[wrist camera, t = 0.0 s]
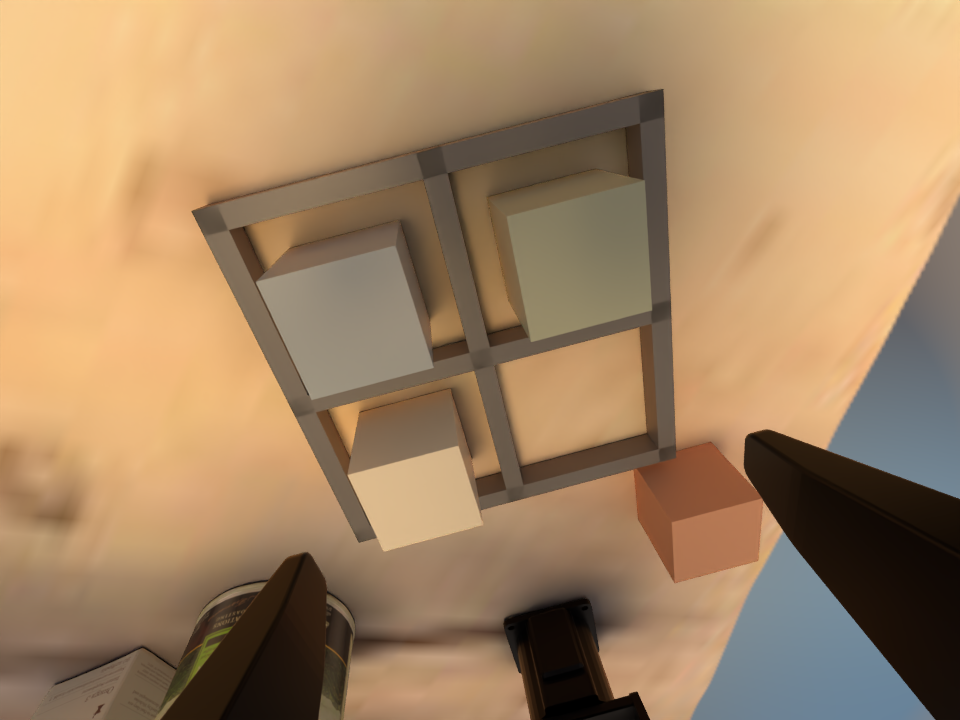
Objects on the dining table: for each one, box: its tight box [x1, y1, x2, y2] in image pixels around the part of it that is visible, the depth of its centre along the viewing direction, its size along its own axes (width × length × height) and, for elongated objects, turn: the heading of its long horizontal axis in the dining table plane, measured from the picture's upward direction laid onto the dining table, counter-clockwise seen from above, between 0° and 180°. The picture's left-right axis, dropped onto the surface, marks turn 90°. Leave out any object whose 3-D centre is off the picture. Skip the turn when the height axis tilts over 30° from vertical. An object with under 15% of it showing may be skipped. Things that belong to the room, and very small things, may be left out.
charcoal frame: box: [192, 89, 676, 551], centre depth 22 cm, size 19×19×5 cm
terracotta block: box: [634, 442, 763, 583], centre depth 28 cm, size 5×5×5 cm
